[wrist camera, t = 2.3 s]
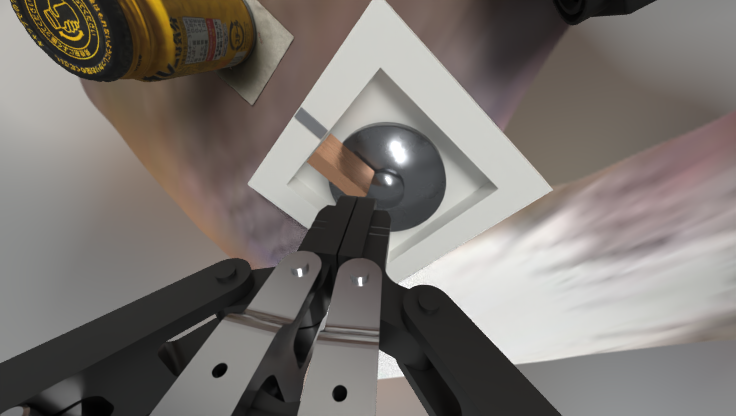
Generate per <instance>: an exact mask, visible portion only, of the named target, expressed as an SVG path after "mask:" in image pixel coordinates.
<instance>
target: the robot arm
mask: <svg viewBox="0 0 736 416" xmlns="http://www.w3.org/2000/svg"><path fill="white" fill-rule="evenodd" d="M376 208H377V198H372V197H362V196H359V197H358V196H351V195H340V197H339V199H338V201H337V203H336V205H335V206H334V205H327V206H325V207H324V208H323V209H321V210H320V211H319V212H318V214H317V216H316V218H315V220H314V221H313V223H312V225H311V228H310V229H309V230H308V232H307V234H306V236H305V238H304V239H303V241H302V243H301V245H300V247H299V249H298V250H297V252H293V253H291V254H289V255H287V256H285V257H284V258H283V259H282V260H281V261H280V262H279V263H278V265H277V266H276V267H271V268H263V269H255V270H251V267H250V265H249V263H248V262H247V261H245V260H243V259H239V258H232V259H226V260H223V261H220V262H218V263H216V264H214V265H212V266H210V267H207V268H205V269H203V270H201V271H199V272H196V273H194V274H192V275H190V276H188V277H186V278H183V279H181V280H179V281H177V282H175V283H173V284H171V285H168V286H166V287H164V288H162V289H160V290H158V291H155V292H153V293H151V294H149V295H147V296H145V297H143V298H140V299H138V300H136V301H134V302H132V303H130V304H127V305H125V306H123V307H121V308H119V309H117V310H114V311H112V312H110V313H108V314H106V315H104V316H102V317H100V318H97V319H95V320H93V321H91V322H89V323H86V324H84V325H82V326H80V327H78V328H76V329H73V330H71V331H69V332H67V333H65V334H63V335H61V336H59V337H56V338H54V339H52V340H50V341H48V342H45V343H43V344H41V345H39V346H37V347H35V348H32V349H30V350H28V351H26V352H24V353H22V354H20V355H17V356H15V357H13V358H11V359H9V360H7V361H4V362H2V363H0V416H375V413H376V394H377V374H378V354H379V350H381V351H383V352H385V353H386V354H388V355H390V356H392V357H394V358H395V359H396V361H397V364H398V366H399V367H400V369H401V371H402V372H403V374H404V376H405V377H406V379H407V380H408V382H409V384H410V385H411V387H412V389H413V390H414V392H415V394H416V395H417V397H418V398H419V400H420V402H421V403H422V405H423V406H424V408H425V410H426V411H427V413H428V415H429V416H561V414H560V413H559V412H558V411H557V410H556V409H555V408H554V407H553V406H552V405H551V404H550V403H549V402H548V401H547V399H546V398H545V397H544V396H543V395H542V394H541V393H540V392H539V391H538V390H537V389H536V388H535V387H534V386H533V385H532V384H531V383H530V382H529V380H528V379H526V377H525V376H524V375H523V374H522V373H521V372H520V371H519V370H518V369H517V368H516V367H515V366H514V365H513V364H512V363H511V362H510V360H509V359H508V358H507V357H506V356H505V355H504V354H503V353H502V352H501V351H500V350H499V349H498V348H497V347H496V346H495V345H494V344H493V343H492V342H491V340H490V339H489V338H488V337H487V336H486V335H485V334H484V333H483V332H482V331H481V330H480V329H479V328H478V327H477V326H476V325H475V324H474V323H473V322H472V320H471V319H470V318H469V317H468V316H467V315H466V314H465V313H464V312H463V311H462V310H461V309H460V308H459V307H458V306H457V305H456V304H455V303H454V302H453V301H452V299H451V298H450V297H449V296H448V295H447V294H446V293H445V292H443V291H442V290H440V289H438V288H436V287H434V286H430V285H417V286H414V287H412V288H410V289H407V288H405V287H403V286H400V285H398V284H397V283H395V282H394V281H392V280H391V279H390V277H389V276H388V275H387V273H386V265H387V258H388V251H389V241H390V230H391V217H390V215H389V213H388V211H382V210H376ZM329 305H330V306H329ZM328 308H329V311H328ZM327 311H328V315H327ZM214 314H215V315H216V317H217V318H215V319H213V320H211V321H210V322H208V323H206V324H204V325H203V326H201V327H199V328H197V329H196V330H194V331H192V332H190V333H189V334H187V335H185V336H183V337H182V338H180V339H178V340H175V341H171V342H166V341H168V340H169V339H171V338H173V337H174V336H176V335H178V334H180V333H181V332H183V331H185V330H187V329H189V328H190V327H192V326H194V325H196V324H197V323H199V322H201V321H203V320H205V319H206V318H208V317H210V316H212V315H214ZM324 326H325V327H324ZM311 358H312V359H311ZM310 361H311V363H310ZM309 363H310V367H309V371H308V375H307V379H306V383H305V387H304V391H303V395H302V399H301V401H300V398H301V394H302V390H303V382H304V377H305V374H306V371H307V368H308V366H309Z"/></svg>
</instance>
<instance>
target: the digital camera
mask: <svg viewBox="0 0 736 416" xmlns="http://www.w3.org/2000/svg"><path fill="white" fill-rule="evenodd" d="M654 1H656V0H553V2H554V5H555V7H556V10H557V11H558V13H559V15H560V16H561V18H562V19H563V20H564V21H565V22H566V23H567V24H569V25H576V24H579V23H580V22H582V21H584V20H586V19H588V18H590V17H597V16H610V15H627V14H631V13H633V12H634V11H636V10H638V9H640V8H642V7H644V6H646V5H648V4H650V3H652V2H654Z"/></svg>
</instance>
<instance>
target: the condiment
mask: <svg viewBox="0 0 736 416" xmlns="http://www.w3.org/2000/svg"><path fill="white" fill-rule="evenodd" d="M10 2H11V5H12V8H13V10H14V11H15V13H16V15H17V17H18V19H19V20H20V22H21V23H22V24H23V26H24V27H25V29H26V31H27V32H28V34H29V35H30V36H31V38H32V39H33V40H34V41H35V42H36V44H37V45H38V46H39V47H40V48H41V49H42V50H44V52H45V53H47V54H48V56H49V57H51V58H52V59H53V60H54V61H55V62H56V63H57V64H59V65H60V66H61V67H63V68H64V69H66V70H67V71H68V72H70V73H72V74H75V75H76V76H78V77H80V78H84V79H88V80H94V81H98V82H102V81H104V82H111V81H115V80H118V79H135V80H139V81H143V82H152V81H161V80H166V79H171V78H176V77H181V76H186V75H192V74H196V73H201V72H207V71H212V70H213V71H214V72H215V73H216V74H217V75H218V76H219V77H220V78H221V79H223V80H224V81H225V82H226V83H227V84H228V85H230V86H231V87H232V88H233V89H234V90H236V91H237V92H238V93H239V94H240V95H241V96H242V97H243V98H244V99H245V100H247V101H248V102H249V103H250V104H251V105H253V104H254V102H255V100H256V99H257V98H258V96H259V94H260V93H261V91H262V90H263V88H264V86H265V85H266V83H267V82H268V80H269V78H270V77H271V75H272V73H273V72H274V70H275V68H276V67H277V65H278V63H279V61H280V60H281V58H282V57H283V55H284V53H285V52H286V50H287V48H288V46H289V45H290V43H291V41H292V40H293V38H294V37H293V36H292V35H291V34H290V33H289V32H288V31H287V30H286V29H285V28H284V27H283V26H282V25H281V24H280V23H279V22H278V21H277V20H276V19H275V18H274V17H273V16H272V15H271V14H270V13H269V12H268V11H267V10H266V9H265V8H264V7H263V6H262V5H261V4H260V3H259V2H258V1H257V0H10ZM259 32H260V36H261V37H259V36H258V33H259ZM260 38H261V39H262V41H263V44H261V42H260ZM230 67H231V68H232V70H231V69H229V68H230Z"/></svg>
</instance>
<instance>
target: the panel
mask: <svg viewBox="0 0 736 416" xmlns="http://www.w3.org/2000/svg"><path fill="white" fill-rule="evenodd" d="M377 122H395V123H401V124H404V125H407V126H410V127H412V128H414V129H417V130H418V131H420V132H421V133H423V134H424V135H425V136H427V137H428V138H429V139H430V140H431V141H432V142H433V144H434V145H435V146H436V148H437V149H438V151H439V153H440V155H441V157H442V160H443V163H444V168H445V174H446V190H445V195H444V198H443V200H442V202H441V204H440V206H439V208H438V209H437V210H436V212H435V213H434V214H433V215H432V216H431V217H430V218H429V219H428V220H426V221H425V222H423V223H422V224H420V225H418V226H416V227H414V228H411V229H408V230H404V231H397V232H390V241H389V251H388V258H387V265H386V273H387V275H388V276H389V277H390V279H391V280H392V281H394V282H395V283H399V282H401V281H402V280H404V279H406V278H407V277H409V276H411V275H412V274H414V273H416V272H417V271H419V270H421V269H422V268H424V267H426V266H427V265H429V264H431V263H432V262H434V261H436V260H437V259H439V258H441V257H442V256H444V255H446V254H447V253H449V252H451V251H452V250H454V249H456V248H457V247H459V246H461V245H462V244H464V243H466V242H467V241H469V240H471V239H472V238H474V237H476V236H477V235H479V234H481V233H482V232H484V231H486V230H487V229H489V228H491V227H492V226H494V225H495V224H497V223H499V222H500V221H502V220H504V219H505V218H507V217H509V216H510V215H512V214H514V213H515V212H517V211H519V210H520V209H522V208H524V207H525V206H527V205H529V204H530V203H532V202H534V201H535V200H537V199H539V198H540V197H542V196H544V195H545V194H547V193H549V192H550V191H552V190H553V189H552V188H551V187H550V186H549V184H548V183H547V182H546V181H545V180H544V178H543V177H542V176H541V175H540V174H539V172H538V171H537V170H536V169H535V168H534V167H533V166H532V165H531V164H530V162H529V161H528V160H527V159H526V158H525V157H524V156H523V155H522V153H520V151H519V150H518V149H517V148H516V147H515V146H514V144H513V143H512V142H511V141H510V140H509V139H508V138H507V137H506V135H505V134H504V133H503V132H502V131H501V130H500V129H499V128H498V126H497V125H496V124H495V123H494V122H493V121H492V120H491V119H490V117H489V116H488V115H487V114H486V113H485V112H484V111H483V110H482V108H481V107H480V106H479V105H478V104H477V103H476V102H475V101H474V99H473V98H472V97H471V96H470V95H469V94H468V93H467V92H466V90H465V89H464V88H463V87H462V86H461V85H460V84H459V83H458V81H457V80H456V79H455V78H454V77H453V76H452V75H451V74H450V72H449V71H448V70H447V69H446V68H445V67H444V66H443V65H442V63H441V62H440V61H439V60H438V59H437V58H436V57H435V56H434V54H433V53H432V52H431V51H430V50H429V49H428V48H427V47H426V45H425V44H424V43H423V42H422V41H421V40H420V39H419V38H418V36H417V35H416V34H415V33H414V32H413V31H412V30H411V29H410V28H409V26H408V25H407V24H406V23H405V22H404V21H403V20H402V19H401V17H400V16H399V15H398V14H397V13H396V12H395V11H394V10H393V8H392V7H391V6H390V5H389V4H388V3H387V2H386V1H385V0H372V1H371V3H370V4H369V6H368V7H367V9H366V10H365V12H364V13H363V15H362V16H361V18H360V19H359V21H358V22H357V23H356V25H355V26H354V28H353V29H352V31H351V32H350V34H349V35H348V37H347V38H346V40H345V41H344V43H343V44H342V46H341V47H340V49H339V50H338V51H337V53H336V54H335V56H334V57H333V59H332V60H331V62H330V63H329V65H328V66H327V68H326V69H325V71H324V72H323V74H322V75H321V77H320V78H319V79H318V81H317V82H316V84H315V85H314V87H313V88H312V90H311V91H310V93H309V94H308V96H307V97H306V99H305V100H304V102H303V103H302V105H301V106H300V107H299V109H298V110H297V112H296V113H295V115H294V116H293V118H292V119H291V121H290V122H289V124H288V125H287V127H286V128H285V130H284V131H283V133H282V134H281V135H280V137H279V138H278V140H277V141H276V143H275V144H274V146H273V147H272V149H271V150H270V152H269V153H268V155H267V156H266V158H265V159H264V161H263V162H262V163H261V165H260V166H259V168H258V169H257V171H256V172H255V174H254V175H253V177H252V178H251V180H250V181H249V183H248V185H249V186H250V187H252V188H253V189H254V190H256V191H257V192H259V193H260V194H261V195H263V196H264V197H265V198H267V199H268V200H269V201H271V202H272V203H273V204H275V205H276V206H278V207H279V208H280V209H282V210H283V211H284V212H286V213H287V214H288V215H290V216H291V217H293V218H294V219H295V220H297V221H298V222H299V223H301V224H302V225H303V226H305V227H306V228H307V229H310V228H311V225H312V223H313V221H314V220H315V218H316V216H317V214H318V212H319V211H320V210H321V209H323V208H324V207H325V206H327V205H334V206H335V205H336V202H335V200H334V199H333V196H332V194H331V191H330V187H329V180H328V179H327V178H326V177H324V176H323V175H322V174H321V173H319V172H318V171H317V170H316V169H314V168H313V167H312V166H311V165H310V164H308V163H307V161H308V159H309V158H310V157H311V156H312V154H313V153H314V152H315V151H316V149H317V148H318V147H319V146H320V145H321V144H322V143H323V141H324V140H325V139H326V138H327V137H328V136H329V134H330V133H331V134H332V135H333V136H335V137H336V138H337V139H338V140H339V141H340V142H341V143H342V142H343V141H344V140H345V139H346V138H347V137H348V136H349V135H350V134H351V133H353V132H354V131H355V130H357V129H359V128H361V127H363V126H366V125H369V124H373V123H377Z"/></svg>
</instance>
